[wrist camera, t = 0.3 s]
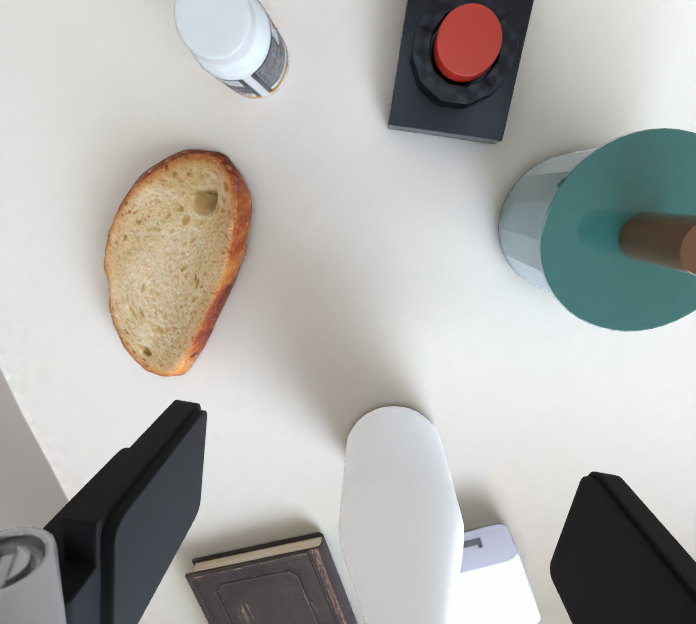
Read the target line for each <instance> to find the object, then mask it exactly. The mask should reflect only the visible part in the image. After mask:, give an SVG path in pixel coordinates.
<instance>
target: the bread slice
mask: <svg viewBox="0 0 696 624" xmlns="http://www.w3.org/2000/svg"><path fill="white" fill-rule="evenodd" d="M251 209H252V204H251V198H250V194H249V191H248V188H247V185H246V183H245V181H244V179H243V177H242V175H241V174H240V173H239V171H238V170H237V169H236V168H235V167H234V165H233V164H232V162H231V161H230V159H229V158H228V157H227V156H225V155H224V154H222V153H219V152H212V151H204V150H184V151H181V152H178V153H176V154H174V155H171V156H169V157H167V158H166V159H164V160H162V161H161V162H159V163H158V164H156V165H154V166H153V167H151V168H150V169H148V170H147V171H146V172H144V173H143V174H142V175H141V176H140V177H139V178H138V179H137V180H136V182H135V183H134V185H133V186H132V188H131V189H130V191H129V192H128V194H127V195H126V197H125V198H124V200H123V201H122V203H121V205H120V207H119V209H118V212H117V214H116V216H115V218H114V222H113V224H112V226H111V228H110V230H109V234H108V241H107V245H106V249H105V259H104V269H105V273H106V275H107V278H108V281H109V291H110V299H109V307H110V313H111V316H112V320H113V324H114V326H115V328H116V330H117V332H118V335H119V337H120V339H121V342H122V344H123V346H124V348H125V349H126V350H127V352H128V353H129V354H130V355H131V356H132V357H133V358H134V360H135V361H136V362H137V363H139V364H140V365H141V366H142V368H144V369H145V370H147V371H149V372H151V373H154V374H157V375H159V376H180V375H183V374H185V373H186V372H187V371H188V370H189V369H190V368H191V365H192V364H193V363H194V361H195V360H196V358H197V357H198V355H199V354H200V352H201V351H202V349H203V348H204V346H205V344H206V341H207V340H208V338H209V336H210V334H211V332H212V329H213V326H214V324H215V322H216V320H217V318H218V315H219V313H220V311H221V309H222V307H223V305H224V303H225V301H226V299H227V297H228V295H229V293H230V291H231V289H232V286H233V284H234V281H235V279H236V276H237V274H238V271H239V268H240V265H241V263H242V261H243V258H244V255H245V251H246V239H247V234H248V230H249V225H250V219H251Z"/></svg>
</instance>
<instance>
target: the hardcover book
mask: <svg viewBox="0 0 696 624" xmlns="http://www.w3.org/2000/svg"><path fill="white" fill-rule="evenodd" d="M192 562H193V564H194V568H193V571H192V572H191V573H187V574H186V575H185V577H186V579H187V581H188V583H189V585H190V587H191V589H192V591H193V593H194V595H195V597H196V599H197V601H198V603H199V605H200V607H201V609H202V611H203V613H204V615H205V617H206V619H207V621H208V623H209V624H357V622H356V619H355V616H354V614H353V611H352V608H351V606H350V603H349V601H348V598H347V595H346V593H345V590H344V588H343V585H342V582H341V580H340V577H339V575H338V572H337V569H336V567H335V564H334V562H333V559H332V556H331V554H330V551H329V549H328V546H327V543H326V541H325V538H324V536H323V534H321V533H316V534H311V535H306V536H302V537H297V538H292V539H288V540H283V541H278V542H273V543H269V544H264V545H259V546H255V547H250V548H245V549H240V550H236V551H231V552H226V553H222V554H217V555H212V556H207V557H203V558H198V559H193V560H192Z"/></svg>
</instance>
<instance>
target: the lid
mask: <svg viewBox="0 0 696 624" xmlns="http://www.w3.org/2000/svg"><path fill="white" fill-rule="evenodd" d="M538 260H539V264H540V269H541V273H542V275H543V278H544V281H545V283H546V285H547V287H548V288H549V290H550V292H551V294H552V295H553V296H554V297H555V299H556V300H557V301H558V302H559V303H560V304H561V305H562V306H563V307H564V308H565V309H566V310H567V311H569V312H570V313H571V314H573V315H574V316H575V317H577V318H579V319H581V320H583V321H585V322H586V323H588V324H591V325H594V326H596V327H599V328H603V329H608V330H613V331H641V330H648V329H653V328H657V327H660V326H664V325H667V324H669V323H672V322H674V321H677V320H679V319H681V318H682V317H684V316H686V315H688V314H690V313H691V312H693V311H694V310H696V133H693V132H689V131H684V130H680V129H668V128H660V129H648V130H643V131H638V132H633V133H630V134H627V135H623V136H620V137H617V138H615V139H613V140H611V141H609V142H607V143H604V144H602V145H601V146H599V147H598V148H596V149H594V150H593V151H591V152H590V153H588V154H587V155H586V156H585V157H583V158H582V159H581V160H580V161H578V162H577V163H576V164H575V165H574V166H573V167H572V168H571V169H570V170H569V171H568V172H567V174H566V175H565V176H564V177H563V179H562V180H561V181H560V182H559V184H558V185H557V187H556V189H555V190H554V192H553V193H552V195H551V197H550V199H549V201H548V203H547V205H546V208H545V210H544V213H543V216H542V219H541V223H540V228H539V234H538Z"/></svg>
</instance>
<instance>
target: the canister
mask: <svg viewBox="0 0 696 624" xmlns="http://www.w3.org/2000/svg"><path fill="white" fill-rule="evenodd" d="M597 148H598V147H597ZM594 149H596V148H592V149H587V150H582V151H577V152H572V153H568V154H565V155H561V156H556V157H553V158H549V159H546V160H544V161H543V162H541V163H539V164H538V165H536V166H535V167H533V168H531V169H530V170H529V171H528V172H527V173H525V174H524V175H523V176H522V177H521V178H520V179H519V180H518V181H517V182H516V184H515V185H514V186H513V188H512V189H511V191H510V192H509V194H508V196H507V197H506V200H505V202H504V204H503V207H502V210H501V214H500V219H499V241H500V245H501V249H502V251H503V254H504V256H505V258H506V260H507V261H508V263H509V264H510V266H511V267H512V268H513V269H514V270H515V272H516V273H517V274H518V275H520V276H521V277H523V278H524V279H526V280H528V281H529V282H531V283H532V284H534V285H536V286H537V287H539V288H541V289H543V290H544V291H546V292H548V293H550V294H551V292H550V290H549V288H548V287H547V285H546V283H545V281H544V278H543V275H542V273H541V269H540V264H539V260H538V234H539V228H540V223H541V219H542V216H543V213H544V210H545V208H546V205H547V203H548V201H549V199H550V197H551V195H552V193H553V192H554V190H555V189H556V187H557V185H558V184H559V182H560V181H561V180H562V179H563V177H564V176H565V175H566V174H567V172H568V171H569V170H570V169H571V168H572V167H573V166H574V165H575V164H576V163H577V162H578V161H580V160H581V159H582V158H583V157H585V156H586V155H587V154H588V153H590V152H591V151H593V150H594ZM551 295H552V294H551Z"/></svg>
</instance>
